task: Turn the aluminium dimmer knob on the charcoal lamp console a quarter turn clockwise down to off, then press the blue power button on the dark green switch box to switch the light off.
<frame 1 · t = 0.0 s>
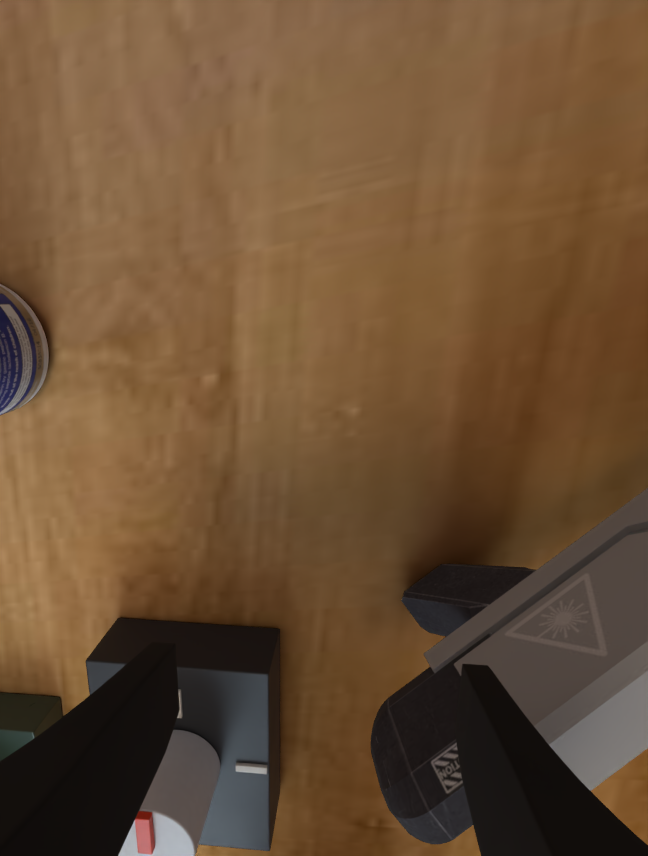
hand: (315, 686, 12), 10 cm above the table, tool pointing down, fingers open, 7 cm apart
switch box: (0, 766, 27), on the table
dimmer knob: (164, 804, 21), point 5 cm above the table, hinge at 0.0°
gun: (621, 484, 21), on the table
dimmer console: (202, 707, 25), on the table
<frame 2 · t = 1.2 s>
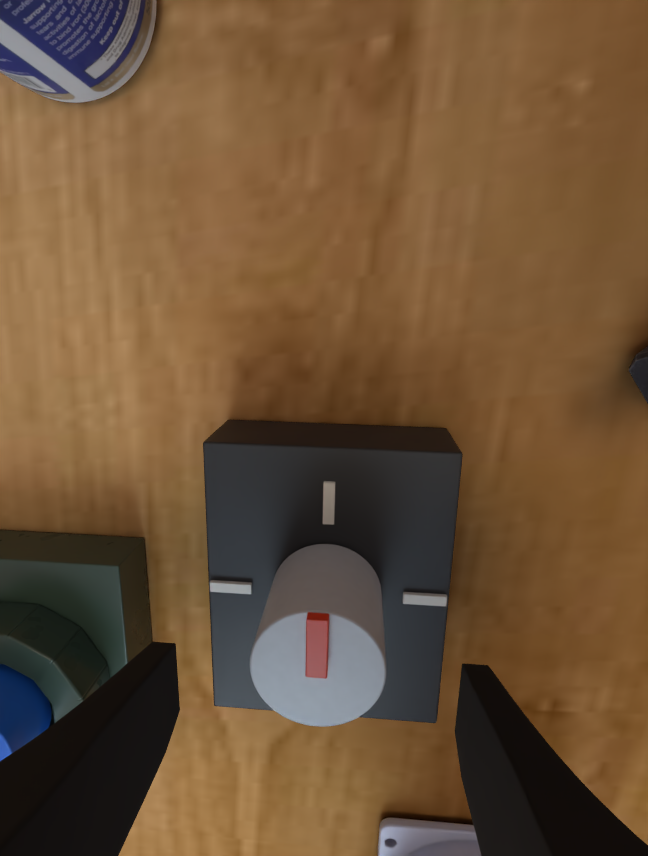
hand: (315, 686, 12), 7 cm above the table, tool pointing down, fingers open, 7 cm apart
switch box: (62, 638, 21), on the table
dimmer knob: (322, 630, 15), point 5 cm above the table, hinge at 0.0°
pill bottle: (75, 8, 16), on the table
dimmer console: (332, 547, 19), on the table
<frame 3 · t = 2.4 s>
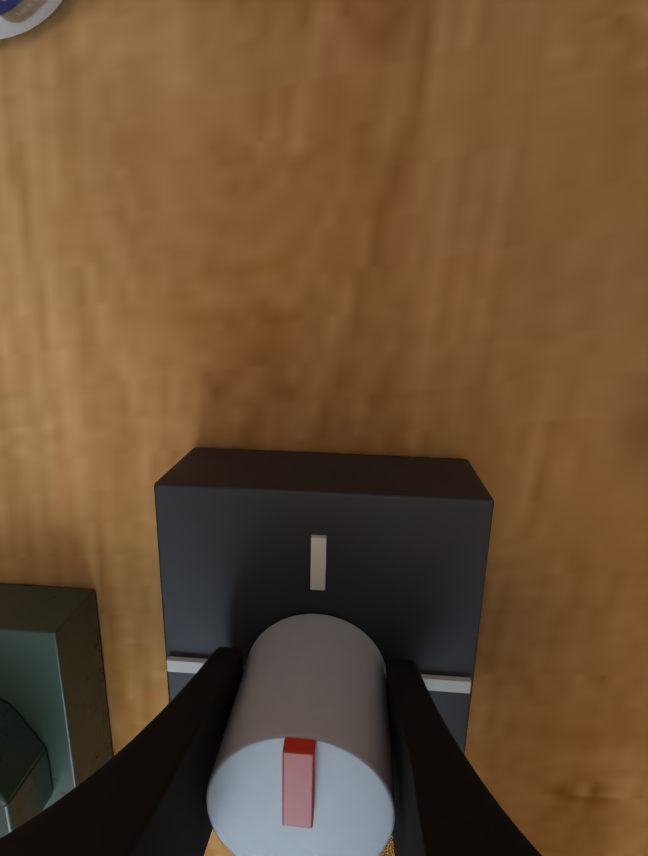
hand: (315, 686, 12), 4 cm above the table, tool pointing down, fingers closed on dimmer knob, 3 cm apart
switch box: (0, 705, 18), on the table
dimmer knob: (308, 738, 11), point 5 cm above the table, hinge at -0.1°, touching gripper
dimmer console: (324, 603, 16), on the table
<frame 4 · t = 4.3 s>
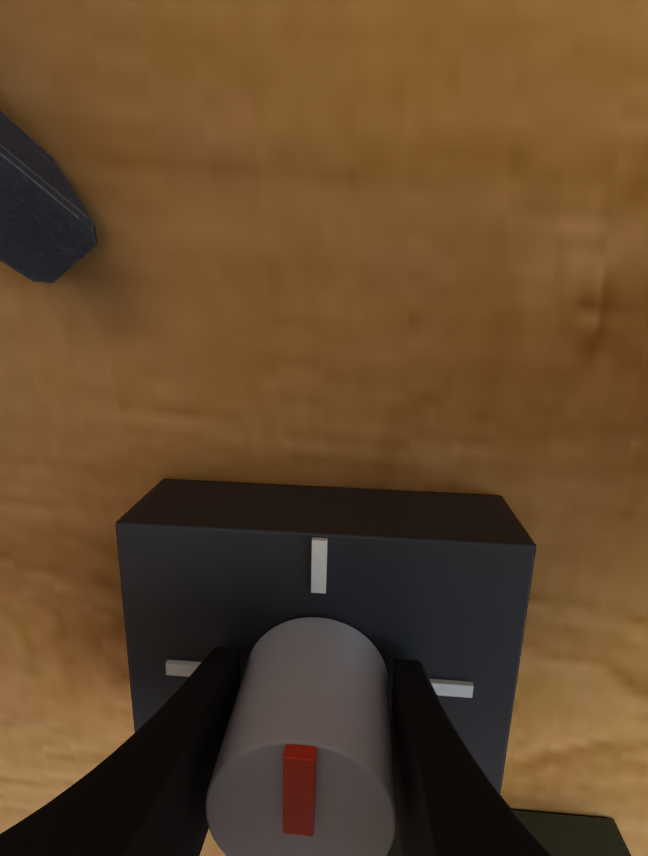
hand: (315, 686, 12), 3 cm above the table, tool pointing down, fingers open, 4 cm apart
dimmer knob: (308, 743, 11), point 5 cm above the table, hinge at -90.3°
dimmer console: (325, 605, 16), on the table
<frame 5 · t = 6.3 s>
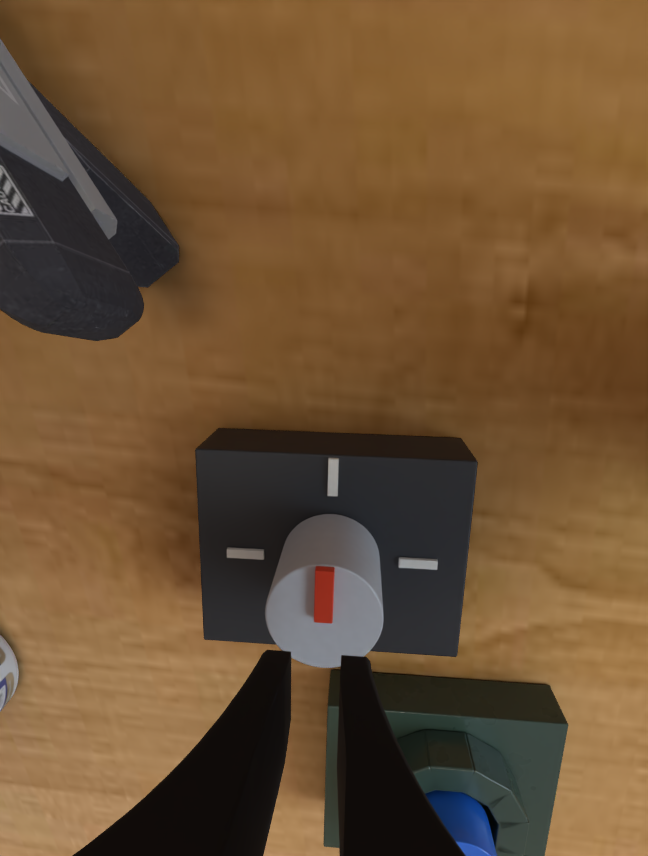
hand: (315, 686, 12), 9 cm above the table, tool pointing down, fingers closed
switch box: (431, 746, 24), on the table
dimmer knob: (327, 587, 17), point 5 cm above the table, hinge at -90.3°
power button: (447, 849, 20), point 5 cm above the table, slide at 0.1 cm
dimmer console: (335, 522, 21), on the table
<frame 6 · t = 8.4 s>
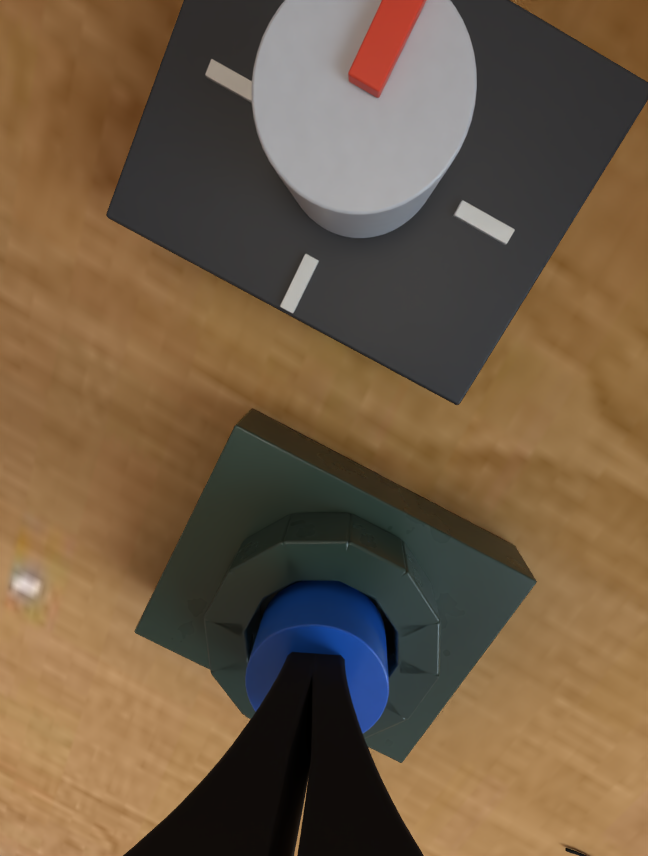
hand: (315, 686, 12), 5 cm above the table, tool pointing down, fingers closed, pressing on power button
switch box: (330, 571, 18), on the table
dimmer knob: (362, 126, 10), point 5 cm above the table, hinge at -90.3°
power button: (319, 658, 13), point 4 cm above the table, slide at -0.1 cm, touching gripper
dimmer console: (362, 183, 14), on the table
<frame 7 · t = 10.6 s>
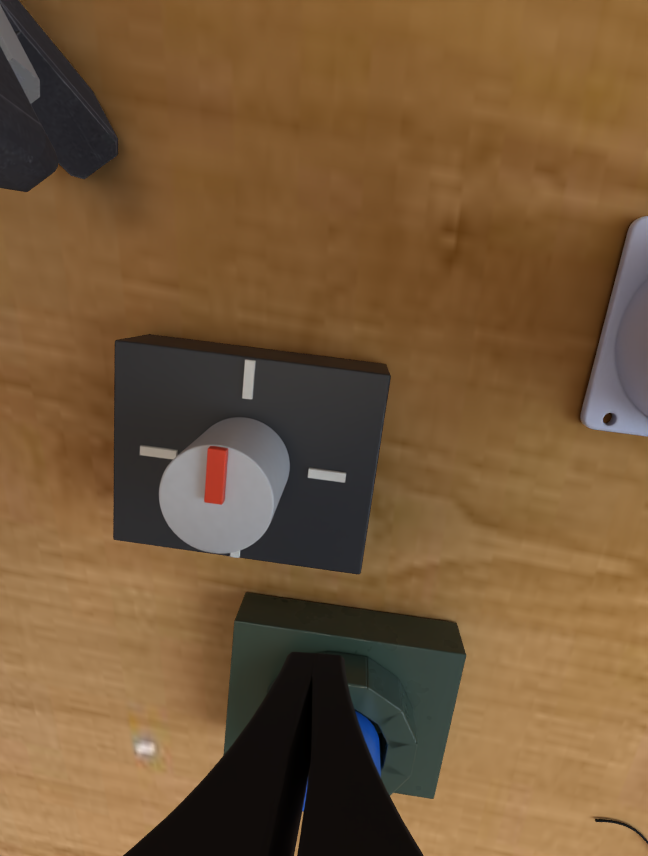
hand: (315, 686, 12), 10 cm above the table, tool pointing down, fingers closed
switch box: (339, 677, 24), on the table
dimmer knob: (229, 481, 17), point 5 cm above the table, hinge at -90.3°
power button: (335, 762, 20), point 5 cm above the table, slide at 0.1 cm
dimmer console: (258, 440, 22), on the table
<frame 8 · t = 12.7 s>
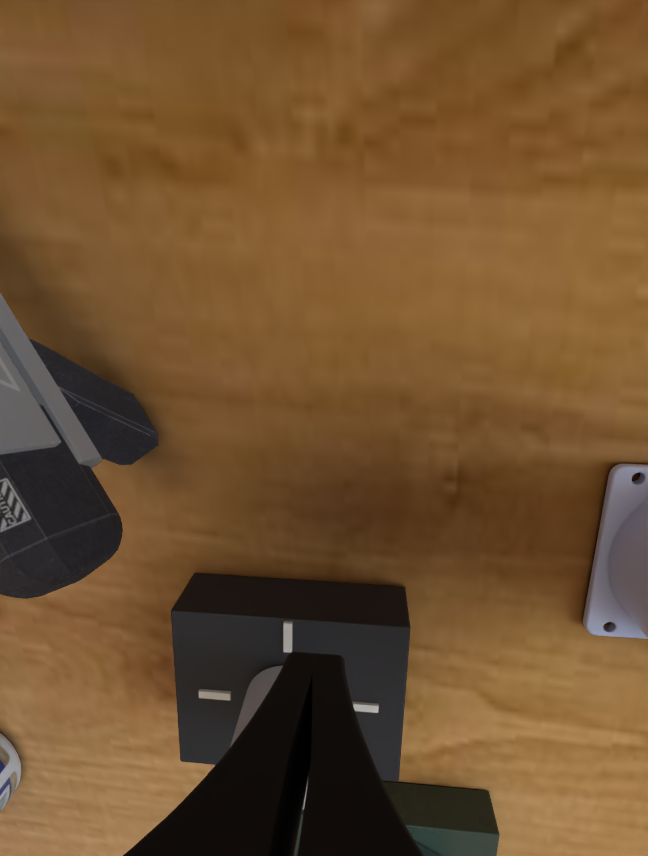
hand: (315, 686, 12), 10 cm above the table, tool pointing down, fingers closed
switch box: (386, 839, 27), on the table
dimmer knob: (280, 738, 20), point 5 cm above the table, hinge at -90.3°
dimmer console: (297, 651, 24), on the table
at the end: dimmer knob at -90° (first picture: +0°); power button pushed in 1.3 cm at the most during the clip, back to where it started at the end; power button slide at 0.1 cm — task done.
